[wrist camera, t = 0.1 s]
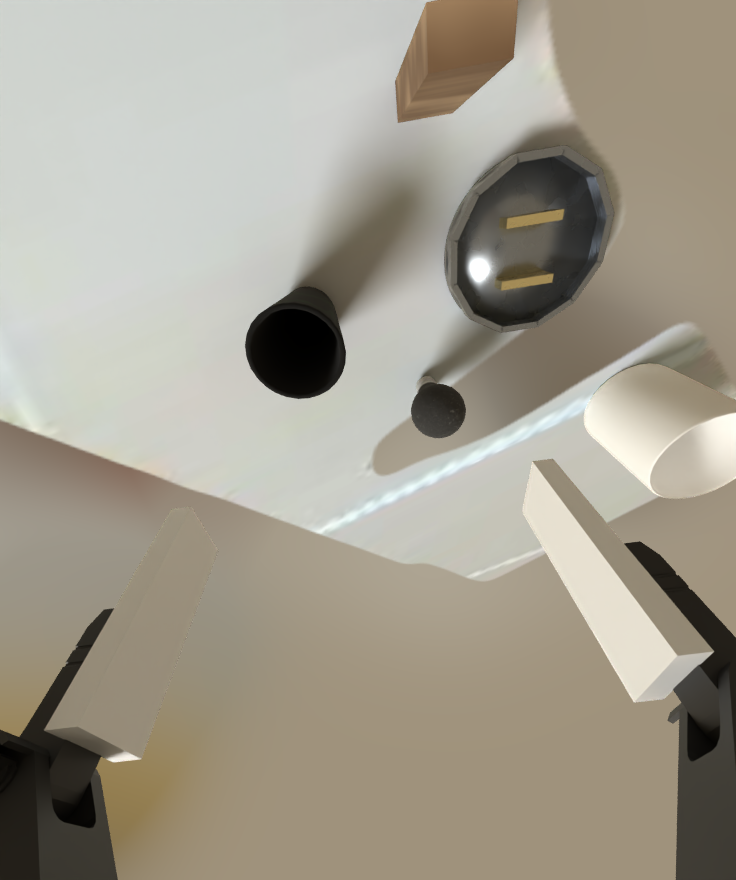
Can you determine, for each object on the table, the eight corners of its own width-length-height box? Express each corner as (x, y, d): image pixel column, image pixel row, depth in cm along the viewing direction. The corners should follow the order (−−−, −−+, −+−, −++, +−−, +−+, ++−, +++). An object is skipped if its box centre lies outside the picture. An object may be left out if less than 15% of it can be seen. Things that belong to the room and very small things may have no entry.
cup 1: (351, 284, 34) (354, 314, 24) (339, 355, 38) (337, 405, 28) (274, 268, 33) (244, 293, 23) (271, 342, 37) (244, 391, 27)
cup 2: (565, 430, 46) (624, 489, 37) (623, 351, 40) (714, 398, 30) (631, 447, 49) (703, 507, 39) (696, 376, 43) (801, 426, 33)
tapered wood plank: (395, 81, 26) (426, 2, 16) (452, 70, 26) (519, -15, 16) (397, 122, 27) (427, 73, 18) (452, 113, 27) (513, 58, 17)
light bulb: (413, 354, 39) (431, 393, 31) (455, 368, 40) (483, 409, 32) (395, 395, 42) (407, 441, 34) (435, 407, 43) (456, 454, 35)
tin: (443, 166, 29) (451, 162, 27) (616, 136, 29) (638, 130, 27) (444, 335, 38) (450, 342, 36) (577, 314, 37) (592, 320, 35)
